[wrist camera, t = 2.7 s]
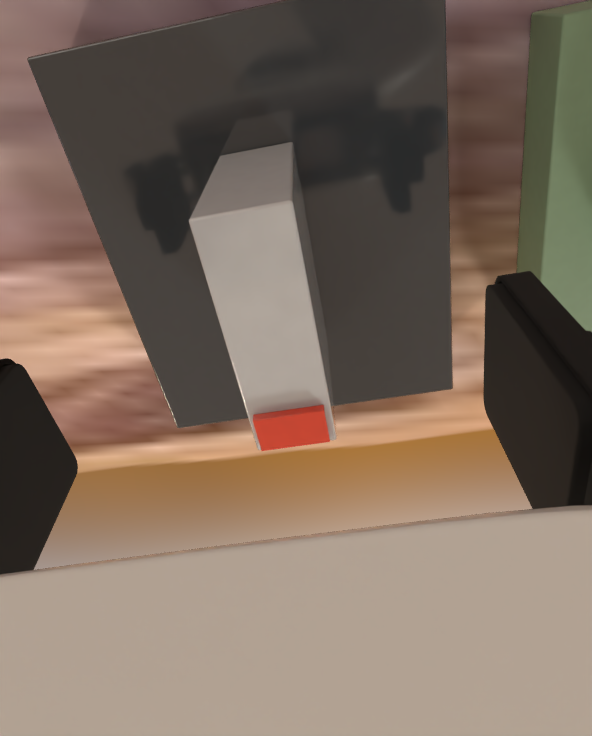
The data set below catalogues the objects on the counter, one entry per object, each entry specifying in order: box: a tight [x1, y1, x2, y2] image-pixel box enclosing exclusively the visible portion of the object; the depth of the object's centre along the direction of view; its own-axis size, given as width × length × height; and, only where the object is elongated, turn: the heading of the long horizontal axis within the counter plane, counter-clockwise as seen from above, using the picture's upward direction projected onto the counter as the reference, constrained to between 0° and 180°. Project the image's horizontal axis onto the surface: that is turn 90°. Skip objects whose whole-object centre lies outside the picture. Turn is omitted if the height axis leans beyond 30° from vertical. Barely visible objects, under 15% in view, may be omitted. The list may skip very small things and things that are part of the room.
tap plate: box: [28, 0, 453, 428], centre depth 17 cm, size 12×10×3 cm
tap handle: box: [189, 142, 337, 451], centre depth 13 cm, size 6×2×5 cm, turn 10°
